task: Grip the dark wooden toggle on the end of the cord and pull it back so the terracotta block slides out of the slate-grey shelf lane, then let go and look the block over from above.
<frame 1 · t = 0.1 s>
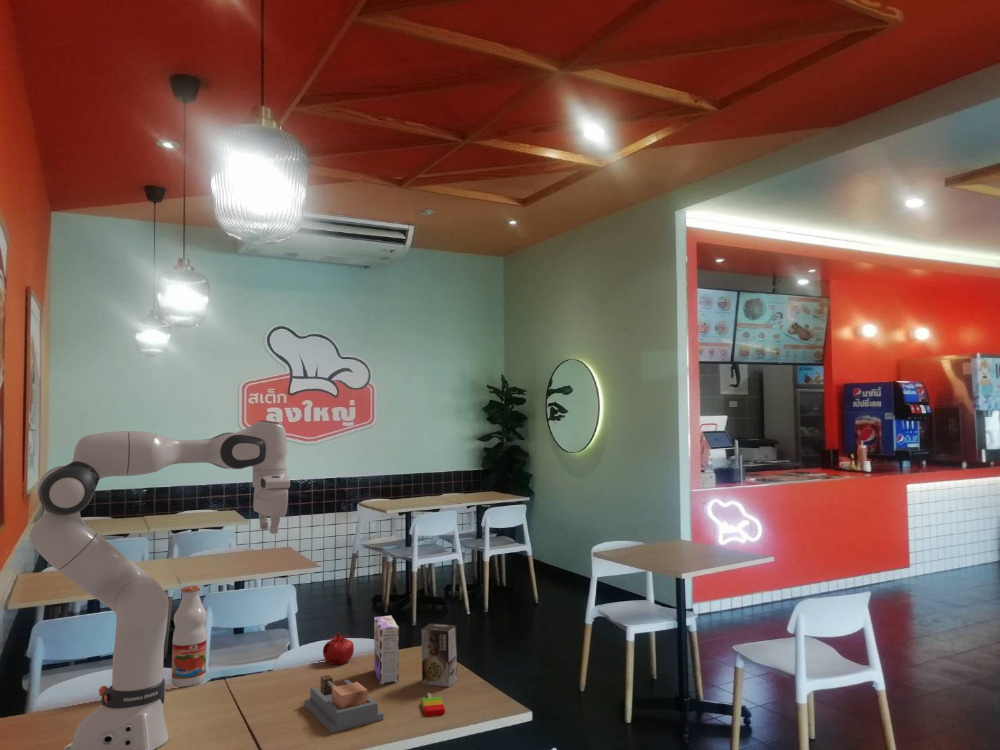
hand: (268, 531, 188), 48 cm above the table, tool pointing down, fingers open, 8 cm apart
popsicle: (431, 707, 189), on the table
pomegranate: (338, 661, 226), on the table
shelf lane: (342, 712, 184), on the table
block: (338, 693, 187), point 4 cm above the table, slide at 0.0 cm
candy box: (386, 676, 212), on the table
fruit juice: (188, 682, 208), on the table
coffee box: (439, 682, 206), on the table
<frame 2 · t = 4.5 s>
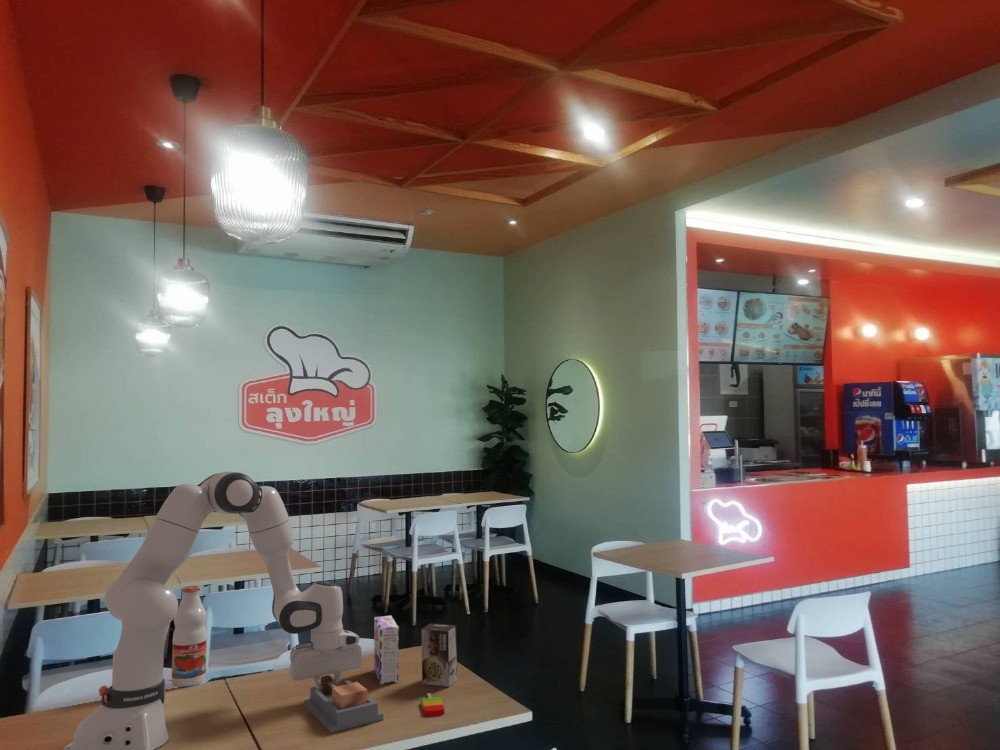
hand: (326, 689, 195), 2 cm above the table, tool pointing down, fingers closed on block, 2 cm apart
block: (338, 693, 187), point 4 cm above the table, slide at 0.0 cm, touching gripper
everything else where it was.
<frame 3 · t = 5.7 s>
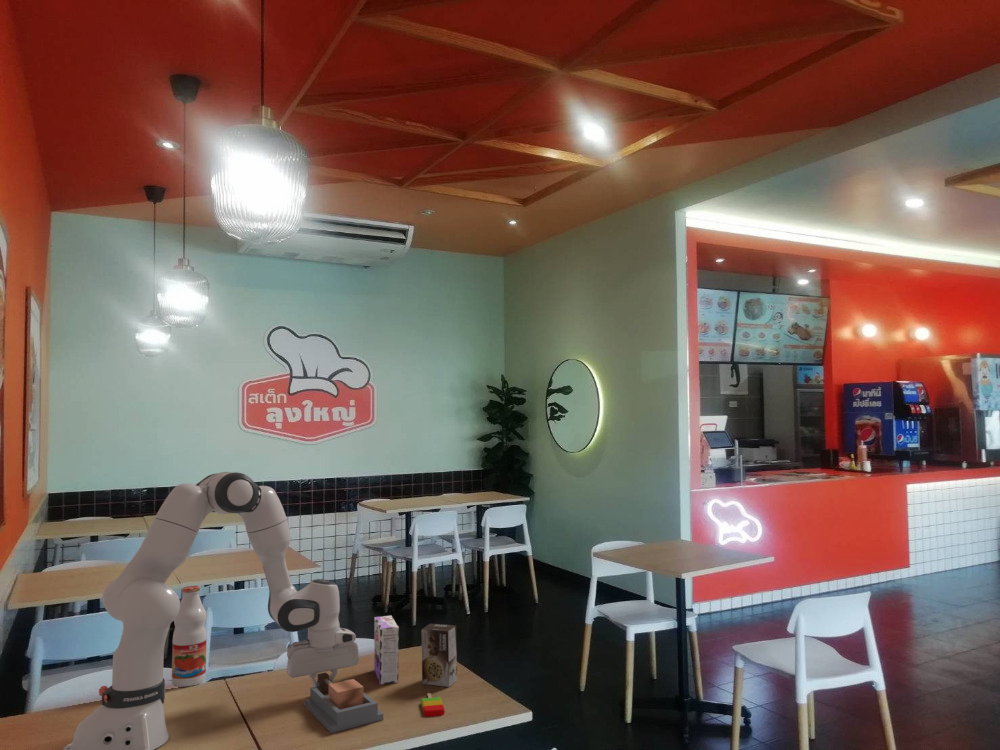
hand: (323, 686, 197), 2 cm above the table, tool pointing down, fingers closed on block, 2 cm apart
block: (335, 690, 189), point 4 cm above the table, slide at 2.7 cm, touching gripper
everything else where it was.
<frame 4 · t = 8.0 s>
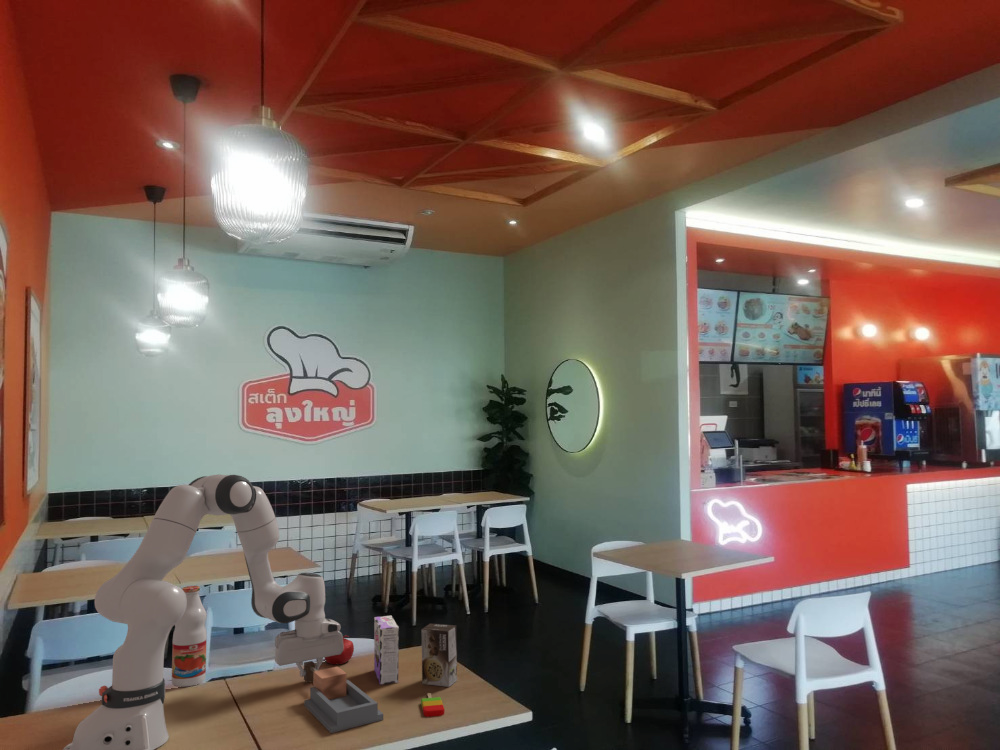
hand: (309, 674, 207), 2 cm above the table, tool pointing down, fingers closed on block, 2 cm apart
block: (320, 677, 199), point 4 cm above the table, slide at 14.9 cm, touching gripper
everything else where it was.
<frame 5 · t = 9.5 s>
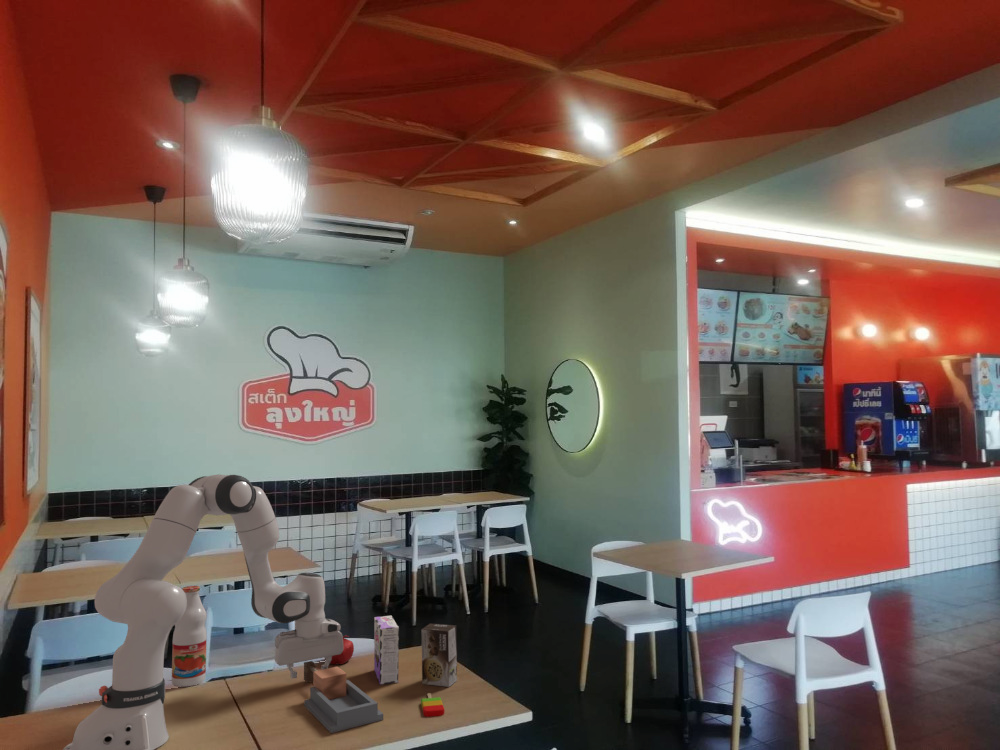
hand: (309, 674, 207), 2 cm above the table, tool pointing down, fingers open, 8 cm apart
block: (320, 677, 199), point 4 cm above the table, slide at 15.0 cm
everything else where it was.
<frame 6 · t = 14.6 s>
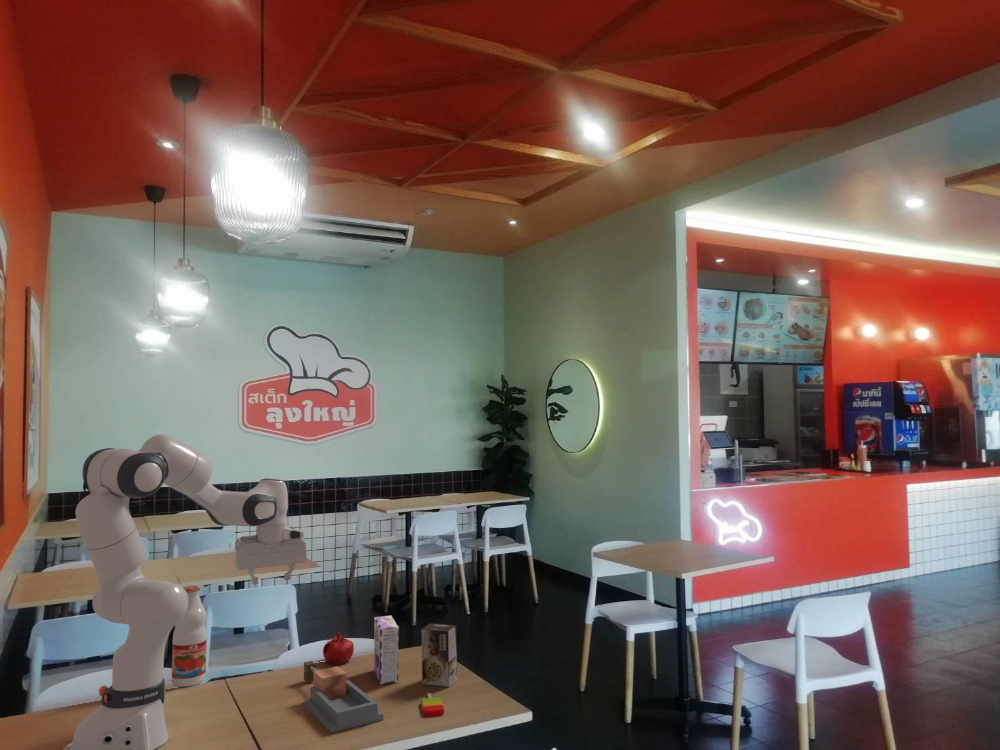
hand: (271, 581, 203), 31 cm above the table, tool pointing down, fingers open, 8 cm apart
nothing on the table moved.
at the end: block slide at 15.0 cm; the gripper is holding nothing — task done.
